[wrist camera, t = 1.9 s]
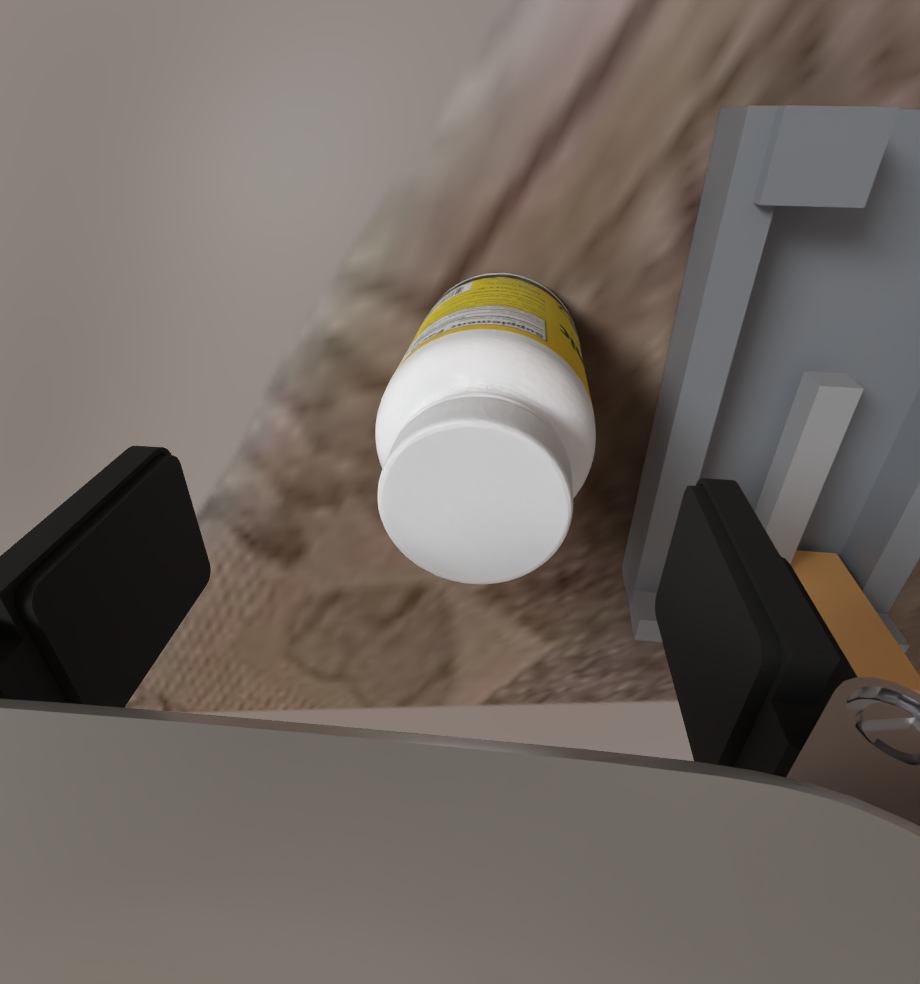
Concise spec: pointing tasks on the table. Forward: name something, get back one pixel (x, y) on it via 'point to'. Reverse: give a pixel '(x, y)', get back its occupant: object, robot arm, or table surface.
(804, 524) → the pusher
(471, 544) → the supplement bottle
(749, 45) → the table surface
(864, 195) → the lane base
